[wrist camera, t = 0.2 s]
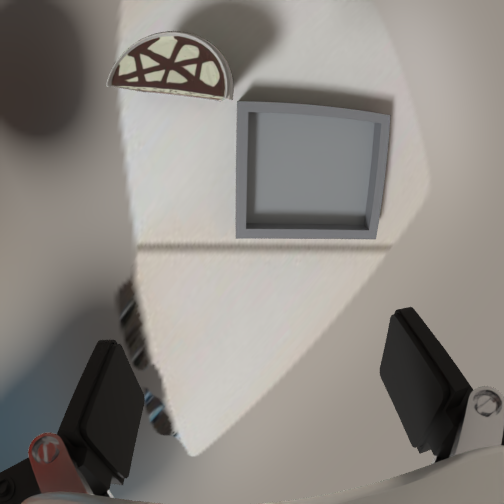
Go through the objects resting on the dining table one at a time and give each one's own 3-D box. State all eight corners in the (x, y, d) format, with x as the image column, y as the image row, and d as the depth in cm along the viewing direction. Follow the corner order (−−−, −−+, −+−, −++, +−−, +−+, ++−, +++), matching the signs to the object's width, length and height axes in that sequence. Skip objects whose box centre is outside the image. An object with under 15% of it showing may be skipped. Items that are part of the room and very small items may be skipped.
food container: (243, 55, 32) (246, 35, 22) (232, 103, 34) (232, 98, 25) (143, 44, 30) (114, 25, 21) (133, 91, 32) (101, 85, 23)
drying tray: (237, 102, 34) (237, 101, 31) (379, 114, 35) (390, 115, 32) (235, 229, 41) (235, 238, 38) (367, 230, 42) (375, 239, 39)
